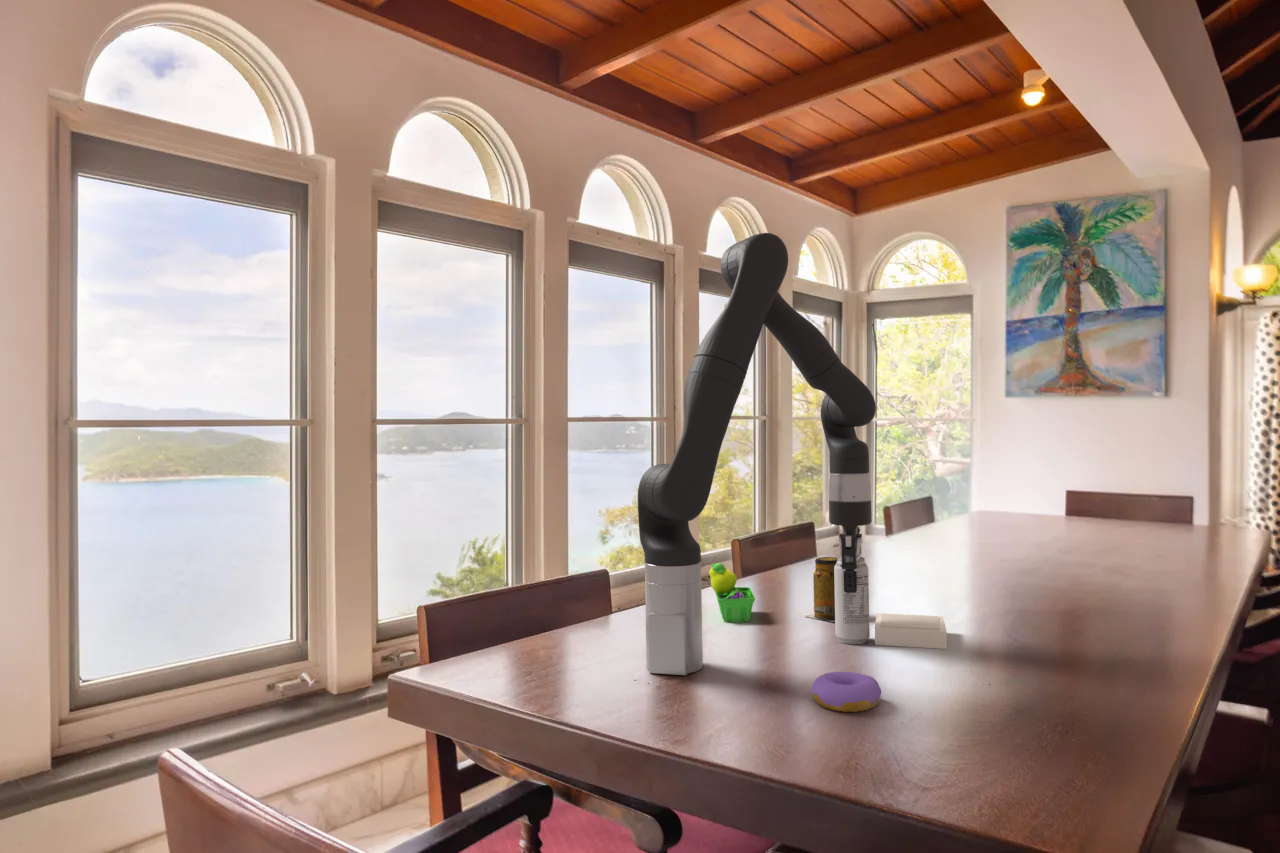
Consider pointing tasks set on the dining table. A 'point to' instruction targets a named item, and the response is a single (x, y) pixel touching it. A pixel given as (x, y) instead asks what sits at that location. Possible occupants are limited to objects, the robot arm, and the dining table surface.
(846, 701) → the donut
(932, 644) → the beige rectangular box
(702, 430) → the robot arm
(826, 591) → the condiment
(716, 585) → the fruit basket
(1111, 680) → the dining table surface
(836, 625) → the energy drink can
